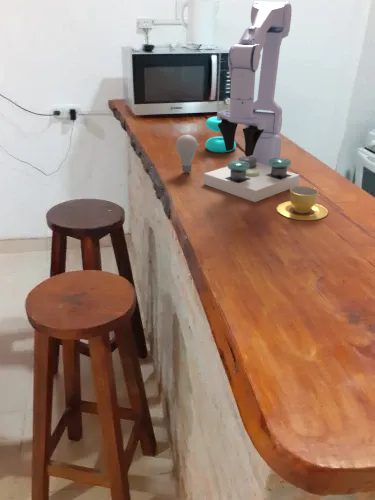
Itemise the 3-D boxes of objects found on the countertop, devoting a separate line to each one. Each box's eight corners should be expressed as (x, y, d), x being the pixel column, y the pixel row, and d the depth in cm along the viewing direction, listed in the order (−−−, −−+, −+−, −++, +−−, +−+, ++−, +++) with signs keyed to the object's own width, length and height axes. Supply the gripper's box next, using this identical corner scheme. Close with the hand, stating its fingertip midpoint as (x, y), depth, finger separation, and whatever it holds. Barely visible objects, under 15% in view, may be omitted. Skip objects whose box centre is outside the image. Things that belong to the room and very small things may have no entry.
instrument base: (247, 170, 149) (248, 153, 146) (298, 185, 137) (300, 167, 135) (203, 184, 138) (204, 166, 135) (254, 202, 126) (256, 182, 124)
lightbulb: (195, 177, 143) (195, 138, 138) (173, 175, 144) (173, 137, 139) (199, 170, 148) (199, 132, 143) (178, 169, 149) (178, 131, 144)
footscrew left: (276, 173, 139) (278, 156, 137) (293, 178, 135) (295, 160, 133) (263, 178, 136) (264, 160, 133) (280, 183, 132) (281, 165, 130)
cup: (324, 225, 114) (327, 202, 112) (271, 217, 118) (273, 195, 116) (330, 206, 124) (333, 185, 122) (281, 200, 128) (283, 179, 126)
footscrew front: (236, 176, 136) (237, 159, 134) (252, 181, 133) (254, 164, 131) (222, 181, 133) (223, 163, 131) (238, 186, 129) (239, 168, 127)
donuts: (202, 116, 167) (231, 114, 169) (201, 146, 172) (230, 144, 174) (211, 123, 158) (241, 121, 161) (210, 154, 163) (239, 152, 165)
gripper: (209, 95, 126) (207, 149, 132) (254, 104, 116) (250, 162, 122) (228, 92, 130) (226, 144, 136) (273, 100, 120) (269, 156, 127)
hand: (239, 152), depth 129 cm, fingers open, 6 cm apart
